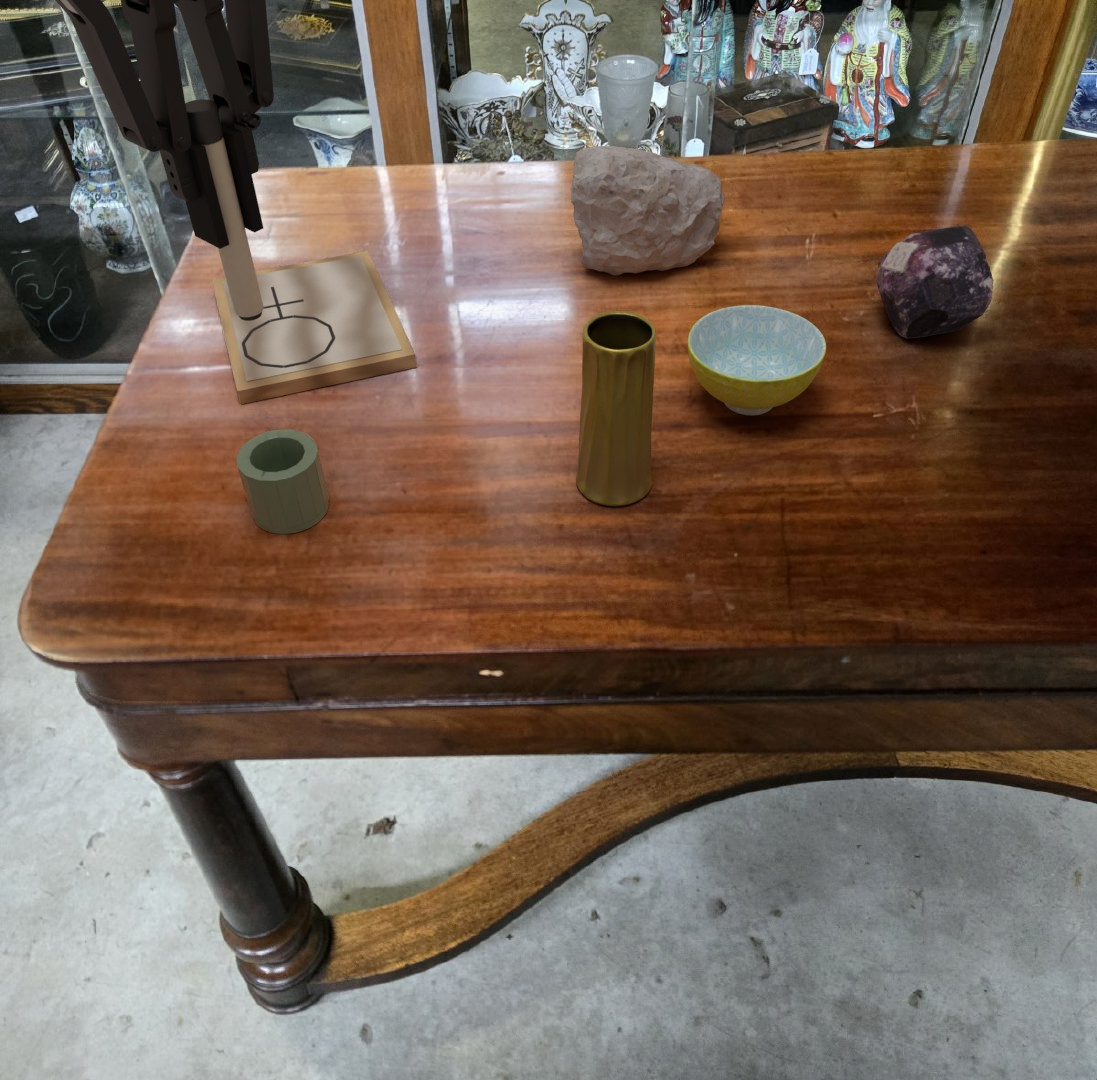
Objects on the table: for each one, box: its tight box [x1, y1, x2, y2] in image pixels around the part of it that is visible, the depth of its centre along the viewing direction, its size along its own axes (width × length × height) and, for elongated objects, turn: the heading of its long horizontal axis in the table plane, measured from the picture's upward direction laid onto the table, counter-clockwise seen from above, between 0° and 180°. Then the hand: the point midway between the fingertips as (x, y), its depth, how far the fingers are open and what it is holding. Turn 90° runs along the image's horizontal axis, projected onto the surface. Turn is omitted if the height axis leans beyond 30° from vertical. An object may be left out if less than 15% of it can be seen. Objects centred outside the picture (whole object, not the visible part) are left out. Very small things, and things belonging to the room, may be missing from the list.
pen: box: [185, 98, 264, 321], centre depth 68 cm, size 2×2×15 cm
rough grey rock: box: [570, 145, 725, 276], centre depth 103 cm, size 16×9×15 cm, turn 108°
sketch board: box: [211, 250, 418, 405], centre depth 99 cm, size 16×20×2 cm
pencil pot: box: [235, 429, 330, 535], centre depth 80 cm, size 6×6×6 cm
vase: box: [575, 310, 657, 507], centre depth 78 cm, size 6×6×14 cm
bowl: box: [687, 304, 827, 416], centre depth 89 cm, size 11×12×6 cm
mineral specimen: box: [875, 224, 995, 339], centre depth 96 cm, size 10×10×10 cm
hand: (229, 231), depth 69 cm, fingers closed on pen, 2 cm apart
